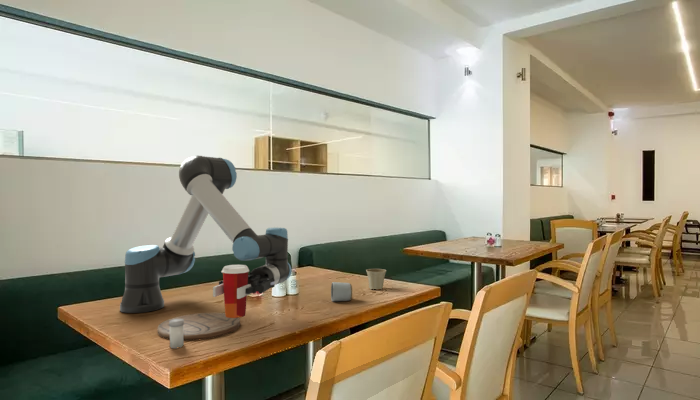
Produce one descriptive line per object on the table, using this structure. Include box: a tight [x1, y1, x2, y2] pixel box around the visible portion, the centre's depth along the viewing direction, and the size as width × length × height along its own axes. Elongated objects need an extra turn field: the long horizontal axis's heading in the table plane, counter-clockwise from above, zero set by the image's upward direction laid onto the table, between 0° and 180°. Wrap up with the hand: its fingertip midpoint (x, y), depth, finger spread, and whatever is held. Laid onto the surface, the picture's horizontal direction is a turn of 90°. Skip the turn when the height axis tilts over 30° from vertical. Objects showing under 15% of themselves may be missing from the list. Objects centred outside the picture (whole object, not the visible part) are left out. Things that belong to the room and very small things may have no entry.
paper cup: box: [220, 264, 250, 318], centre depth 122 cm, size 8×8×14 cm
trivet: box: [157, 312, 241, 341], centre depth 138 cm, size 25×25×2 cm
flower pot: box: [365, 268, 387, 290], centre depth 197 cm, size 9×9×9 cm
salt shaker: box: [169, 319, 185, 349], centre depth 120 cm, size 4×4×7 cm
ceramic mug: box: [330, 281, 353, 302], centre depth 176 cm, size 11×8×8 cm
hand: (226, 292), depth 117 cm, fingers closed on paper cup, 7 cm apart
